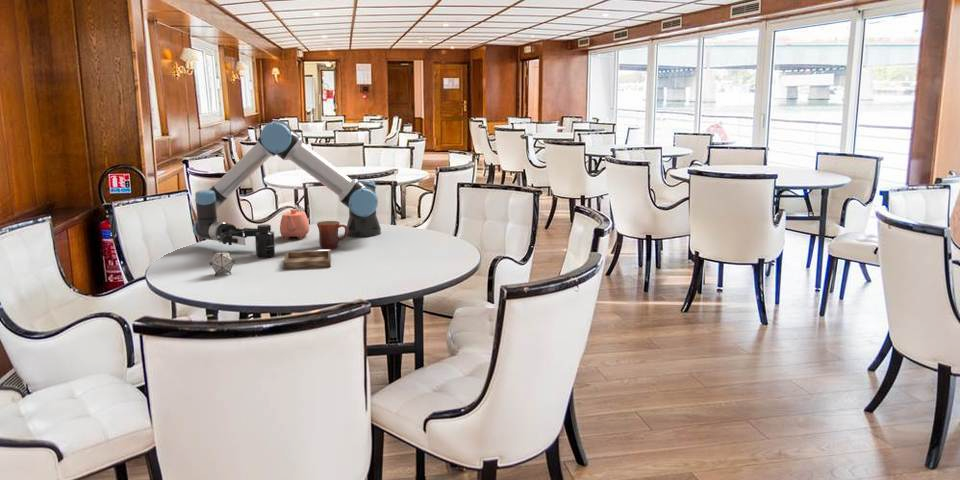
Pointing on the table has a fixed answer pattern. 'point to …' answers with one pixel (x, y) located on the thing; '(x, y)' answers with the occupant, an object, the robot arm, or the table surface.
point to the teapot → (294, 224)
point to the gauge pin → (315, 250)
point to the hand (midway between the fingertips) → (259, 238)
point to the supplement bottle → (264, 242)
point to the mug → (330, 234)
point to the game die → (222, 262)
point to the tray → (307, 259)
